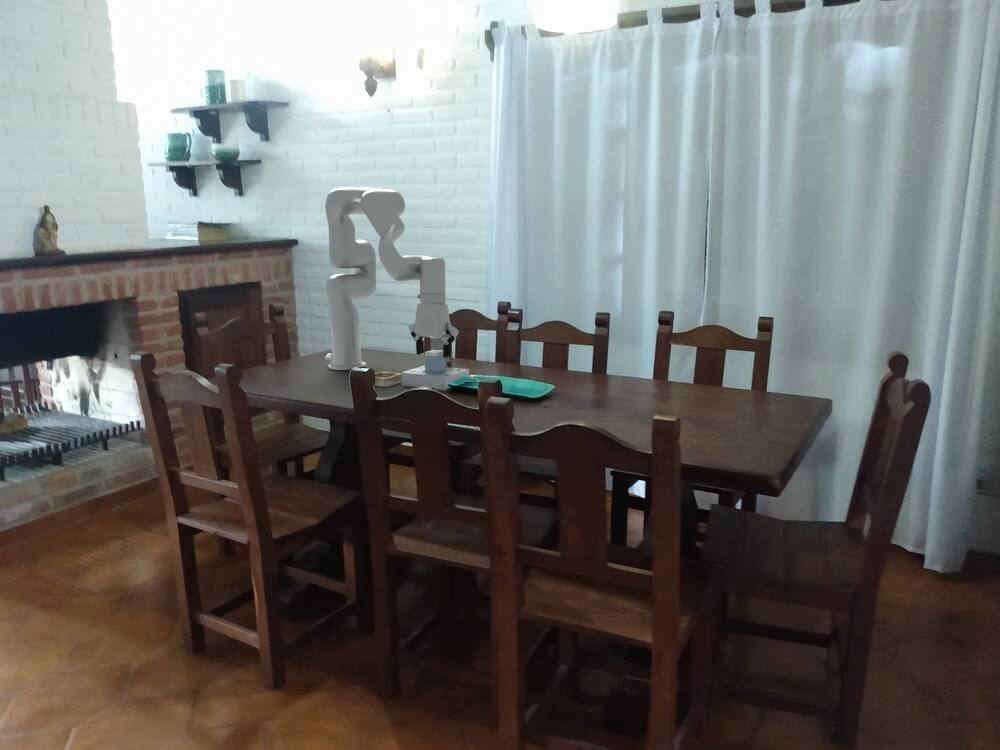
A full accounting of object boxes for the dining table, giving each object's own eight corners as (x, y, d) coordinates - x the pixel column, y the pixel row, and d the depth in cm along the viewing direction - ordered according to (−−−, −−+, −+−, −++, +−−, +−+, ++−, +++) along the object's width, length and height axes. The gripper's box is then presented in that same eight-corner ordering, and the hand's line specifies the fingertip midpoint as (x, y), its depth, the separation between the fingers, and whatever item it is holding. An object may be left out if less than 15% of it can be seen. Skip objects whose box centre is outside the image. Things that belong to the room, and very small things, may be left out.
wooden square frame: (363, 384, 232) (363, 376, 232) (381, 378, 240) (381, 371, 239) (386, 387, 228) (386, 378, 228) (404, 381, 236) (403, 373, 235)
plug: (425, 381, 231) (424, 351, 229) (433, 378, 235) (432, 349, 233) (437, 382, 229) (436, 353, 227) (445, 379, 233) (444, 350, 231)
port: (401, 385, 230) (401, 371, 229) (426, 377, 241) (425, 363, 240) (446, 390, 223) (445, 375, 222) (469, 382, 234) (469, 368, 233)
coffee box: (451, 374, 245) (449, 325, 242) (431, 375, 245) (429, 325, 242) (453, 369, 254) (452, 321, 251) (434, 369, 254) (432, 321, 251)
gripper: (401, 298, 228) (402, 354, 231) (450, 302, 220) (451, 360, 223) (416, 295, 234) (417, 350, 238) (464, 299, 226) (464, 356, 230)
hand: (433, 355), depth 231 cm, fingers open, 9 cm apart
